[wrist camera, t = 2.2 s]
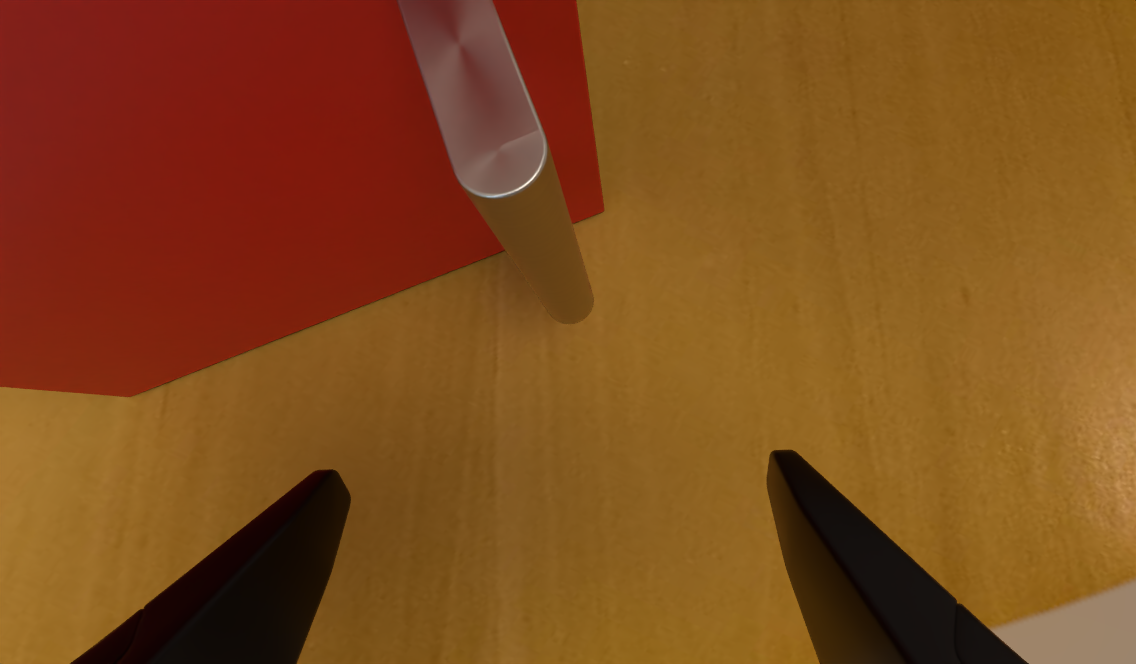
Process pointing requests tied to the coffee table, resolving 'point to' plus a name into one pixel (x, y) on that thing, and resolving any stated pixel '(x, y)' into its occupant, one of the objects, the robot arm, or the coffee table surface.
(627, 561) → the coffee table surface
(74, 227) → the cupboard door
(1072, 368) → the coffee table surface
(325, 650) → the coffee table surface
